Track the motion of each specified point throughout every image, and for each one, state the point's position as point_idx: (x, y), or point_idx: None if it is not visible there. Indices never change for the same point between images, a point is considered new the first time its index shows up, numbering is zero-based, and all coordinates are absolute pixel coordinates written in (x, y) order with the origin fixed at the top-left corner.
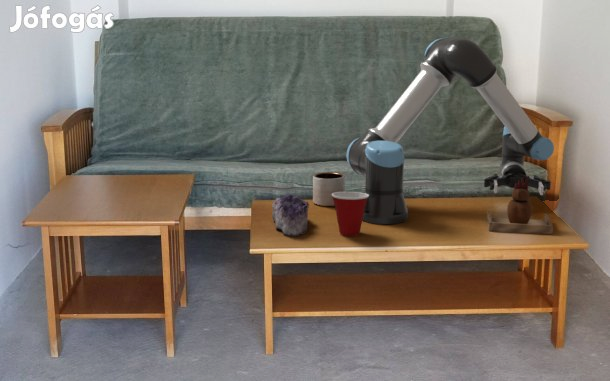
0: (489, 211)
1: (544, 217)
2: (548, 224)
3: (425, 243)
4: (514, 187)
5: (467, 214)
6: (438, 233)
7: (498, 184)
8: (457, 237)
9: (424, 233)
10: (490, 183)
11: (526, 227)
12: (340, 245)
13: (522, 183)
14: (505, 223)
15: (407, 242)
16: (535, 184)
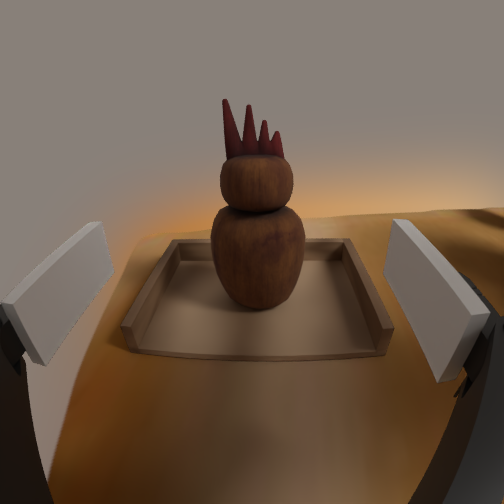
0: (384, 323)
1: (138, 330)
2: (172, 258)
3: (427, 214)
4: (283, 153)
5: None
6: (440, 241)
7: (449, 435)
8: None
9: (459, 239)
10: (476, 287)
11: None
12: (498, 209)
13: (249, 131)
14: (305, 239)
15: (450, 215)
16: (11, 391)
